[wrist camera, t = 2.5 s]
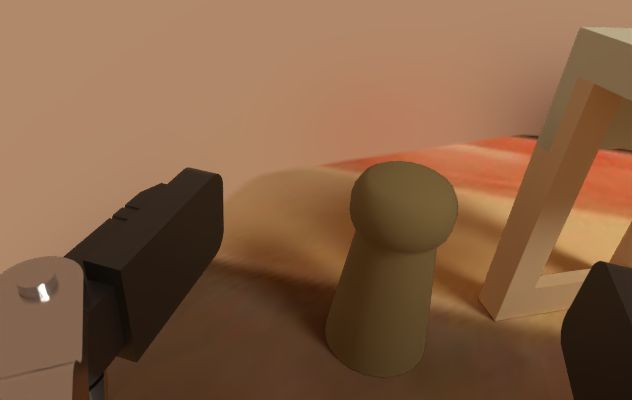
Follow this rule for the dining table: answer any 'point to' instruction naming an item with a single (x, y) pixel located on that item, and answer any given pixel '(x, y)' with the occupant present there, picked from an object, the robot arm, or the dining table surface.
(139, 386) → the dining table surface
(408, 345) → the cork
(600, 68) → the cream side table
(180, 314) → the dining table surface
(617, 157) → the dining table surface
